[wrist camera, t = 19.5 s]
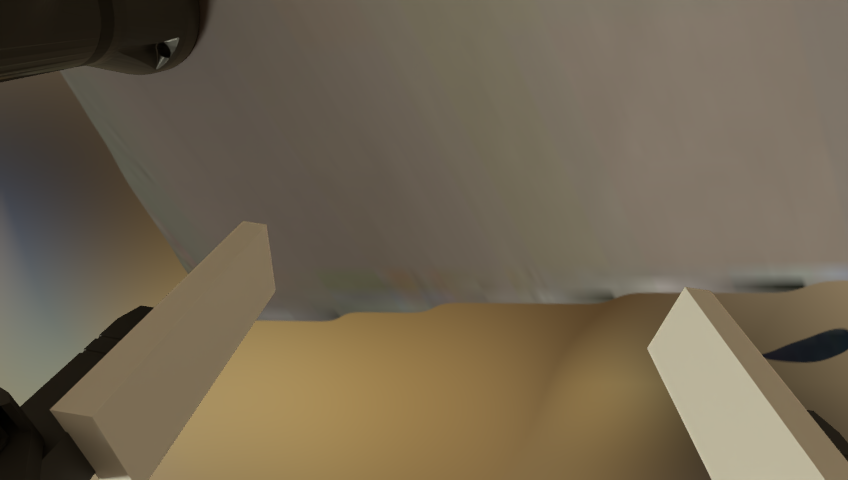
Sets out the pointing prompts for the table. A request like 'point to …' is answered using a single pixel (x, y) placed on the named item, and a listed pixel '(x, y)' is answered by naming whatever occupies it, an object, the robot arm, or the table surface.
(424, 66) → the table surface
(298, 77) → the table surface
